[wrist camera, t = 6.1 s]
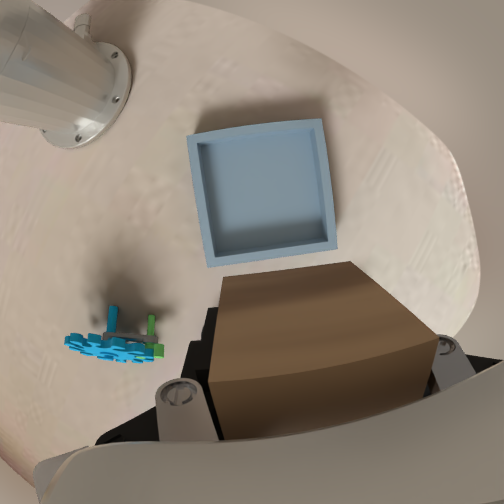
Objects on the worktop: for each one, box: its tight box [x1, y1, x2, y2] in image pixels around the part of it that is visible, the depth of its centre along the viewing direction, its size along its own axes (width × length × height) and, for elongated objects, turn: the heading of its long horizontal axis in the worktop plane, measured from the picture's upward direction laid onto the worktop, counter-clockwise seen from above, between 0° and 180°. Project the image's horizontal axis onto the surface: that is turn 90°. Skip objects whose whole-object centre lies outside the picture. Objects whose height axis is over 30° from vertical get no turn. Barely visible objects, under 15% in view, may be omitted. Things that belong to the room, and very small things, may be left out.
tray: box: [186, 118, 338, 268], centre depth 25 cm, size 12×12×2 cm
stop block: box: [208, 261, 439, 440], centre depth 9 cm, size 5×5×6 cm
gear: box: [64, 306, 164, 363], centre depth 27 cm, size 11×6×10 cm
